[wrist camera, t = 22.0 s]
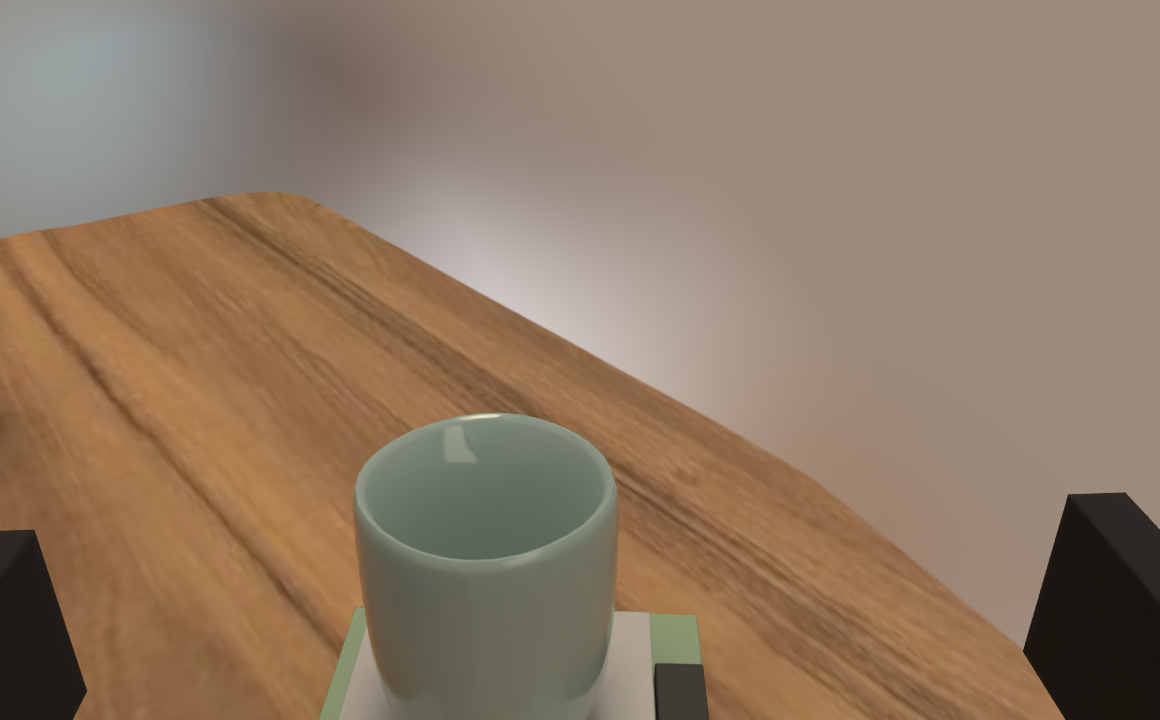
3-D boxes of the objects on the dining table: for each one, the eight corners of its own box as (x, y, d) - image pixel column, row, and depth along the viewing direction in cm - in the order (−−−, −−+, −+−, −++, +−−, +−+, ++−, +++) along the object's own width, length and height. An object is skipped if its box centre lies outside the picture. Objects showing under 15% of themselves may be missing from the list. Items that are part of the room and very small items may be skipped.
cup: (655, 722, 34) (670, 483, 29) (476, 864, 29) (459, 606, 24) (510, 607, 39) (503, 387, 34) (337, 712, 34) (302, 474, 29)
